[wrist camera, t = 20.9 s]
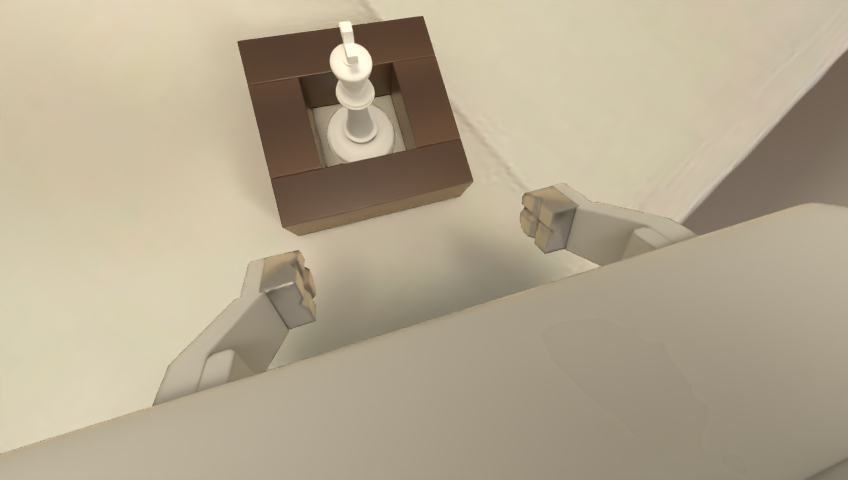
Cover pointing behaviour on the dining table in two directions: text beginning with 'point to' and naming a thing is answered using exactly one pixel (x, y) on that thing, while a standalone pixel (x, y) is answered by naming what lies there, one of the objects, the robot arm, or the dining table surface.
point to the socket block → (316, 86)
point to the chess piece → (356, 105)
